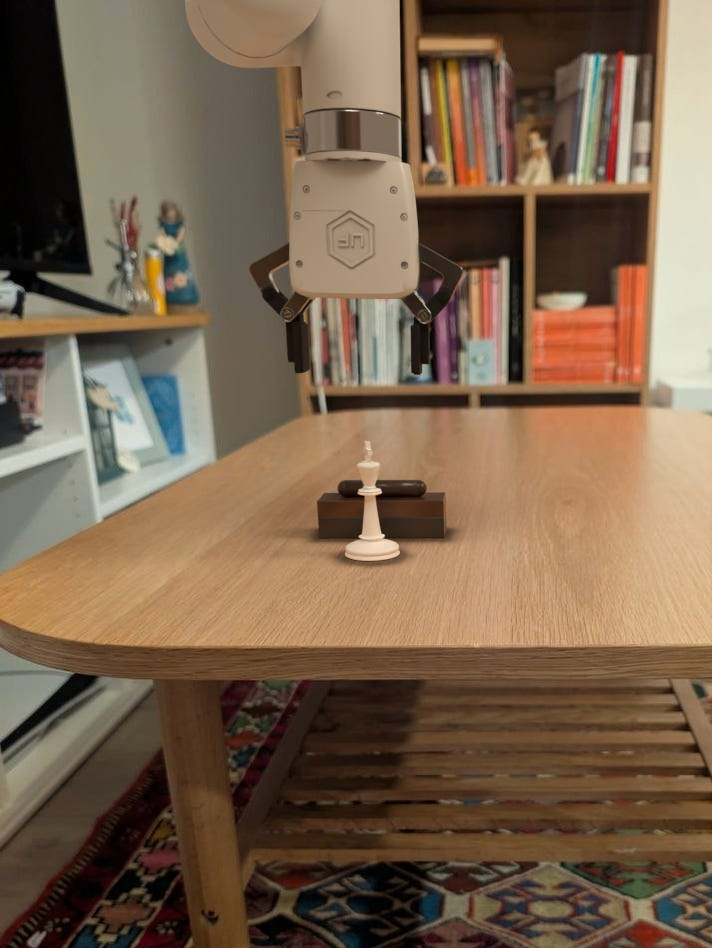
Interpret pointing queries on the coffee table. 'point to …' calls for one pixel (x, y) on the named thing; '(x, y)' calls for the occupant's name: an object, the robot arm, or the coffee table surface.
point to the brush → (384, 510)
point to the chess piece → (370, 517)
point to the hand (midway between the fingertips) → (359, 372)
